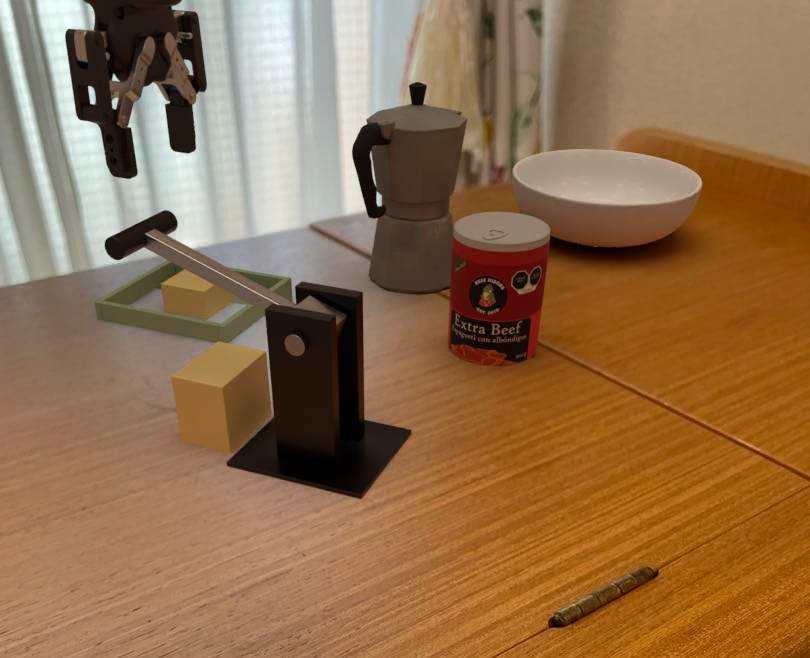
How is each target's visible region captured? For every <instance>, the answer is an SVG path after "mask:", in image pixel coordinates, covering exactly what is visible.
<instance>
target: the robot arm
mask: <svg viewBox="0 0 810 658" xmlns="http://www.w3.org/2000/svg"><path fill="white" fill-rule="evenodd" d="M82 1H83V2H85V4H89V5H90V6H91V8H92V10H93V14H94V26H93V30H90V29H81V28H68V29H66V31H65V34H64V40H65V46H66V53H67V60H68V67H69V73H70V74H69V75H70V79H71V80H70V81H71V87H72V88H71V89H72V96H73V104H74V109H75V115H76V118H77V119H78V120H79V121H83V122H88V123H93V124H95V125H97V126H98V128H99V129H100V134H101V139H102V146H103V151H104V156H105V163H106V167H107V169H108V171H109V173H110V175H111V176H112V177H115V178H119V179H124V180H131V179H134V178H136V177H137V176H138V173H139V170H138V163H137V156H136V151H135V143H134V137H133V131H132V127H131V126H130V127H129V124H130V121H131V116H132V112H133V108H134V104H135V103H136V102H137V101H139V100H140V99H141V97H142V94H143V90H144V88H146V87H149V86H150V85H151V84H155V85H156V87H157V88H158V89H159V92H160V93H161V95H162V96H163V98H164V100H165V101H166V102H167V103H165V104H164V109H165V115H166V118H165V119H166V125H167V126H166V127H167V132H168V140H169V141H168V142H169V147H170V150H172V151H173V152H174V153H181V154H189V155H190V154H191V153H193V152H196V150H197V144H196V143H197V142H196V141H197V140H196V137H197V136H196V128H195V117H194V108H193V106H194V105H195V104H196V102H197V95H198V94H199V93H205V92H206V91H207V87H208V81H207V72H206V64H205V58H204V49H203V41H202V33H201V27H200V18H199V14H198V12H196V11H191V10H182V9H173V7H174V6H177V5H179V4H181V2H183V0H82ZM186 61H189V62H190V64H191V70H192V74H190V70H189V67H188V65H187V63H186ZM113 77H115V78H116V79H117V80H113ZM89 87H91V88H92V89H93V90H94V96H95V101H94V103H91V99H90V91H89ZM114 99H117V103H116V107H115V108H113V100H114Z"/></svg>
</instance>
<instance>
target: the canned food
mask: <svg viewBox="0 0 810 658" xmlns="http://www.w3.org/2000/svg"><path fill="white" fill-rule="evenodd" d="M453 229H454V232H453V245H452V262H451V283H450V286H449V305H448V306H449V308H448V328H447V329H448V331H447V347H448V350H449V351H450V353H451V354H452V355H453V356H455V357H457V358H458V359H460V360H462V361H465V362H467V363H471V364H475V365H481V366H488V367H489V366H490V367H499V366H501V367H503V366H511V365H515V364H520V363H521V362H526V361H527V360H528V359H533V358H534V357H535V355H536V352H537V350H538V342H539V334H540V326H541V319H542V310H543V303H544V296H545V295H544V294H545V286H546V279H547V270H548V262H549V254H550V243H551V235H550V227H549V226H548V224H546V223H545V222H544V221H542V220H540V219H538V218H535V217H532V216H529V215H525V214H523V213H519V212H511V211H485V212H479V213H472V214H470V215H469V214H468V215H467V216H464V217H461V218H460V219H458V220H457V221H456V222H455V223H454V225H453Z"/></svg>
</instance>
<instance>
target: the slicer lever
mask: <svg viewBox="0 0 810 658" xmlns="http://www.w3.org/2000/svg"><path fill="white" fill-rule="evenodd" d="M178 225H179V221H178V219H177V216H176V215H175V214H174V213H173V212H172V211H170V210H167V209H163V210H161V211H159V212H157V213H155V214H153V215H151V216H148V217H147V218H145V219H143V220H141V221H139V222H137V223H135V224H133V225H131V226H129V227H127V228H125V229H122V230H121V231H119V232H117V233H115V234H113V235H111V236H109V237H107V238H106V239H105V240H104V250H105V252H106V253H107V255H108V256H109V257H110V258H111V259H113V260H116V261H121V260H123V259H125V258H127V257H128V256H131V255H133V254H134V253H136V252H138V251H140V250H142V249H143V248H144V249H146V250H148V251H150V252H152V253H154V254H155V255H157V256H160V257H161V258H162V259H165V260H166V261H167V260H169V261H170V262H172V263H174V264H176V265H178V266H180V267H182V268H184V269H185V270H187V271H189V272H191V273H193V274H195V275H197V276H198V277H200V278H202V279H204V280H206V281H208V282H210V283H212V284H213V285H215V286H217V287H219V288H221V289H223V290H225V291H227V292H228V293H230V294H232V295H234V296H236V297H238V298H240V299H241V300H243V301H245V302H247V303H249V304H251V305H253V306H255V307H256V308H258V309H260V310H262V311H264V312H265V309H266V308H267V307H268V306H270V305H271V304H277V305H283V306H288V307H294V308H299V309H305V310H310V311H316V312H321V313H327V314H332V315H336V331H337V345H338V342H339V339H340V336H341V333H342V330H343V326H344V323H345V320H346V317H347V315H346V314H344V313H342V312H340V311H338V310H336V309H334V308H333V307H331V306H329V305H327V304H325V303H323V302H321V301H319V300H317V299H316V298H314V297H312V296H308V297H307V298H305V299H304V300H303V301H302V302H300V303H299V304H298V305H297V304H296V302H294V301H293V302H291V301H289V300H287V299H286V298H284V297H282V296H280V295H278V294H276V293H274V292H272V291H271V290H269V289H267V288H265V287H263V286H261V285H259V284H257V283H255V282H254V281H252V280H250V279H248V278H246V277H244V276H242V275H240V274H239V273H237V272H235V271H233V270H231V269H229V268H227V267H228V266H226V265H224V264H222V263H220V262H218V261H216V260H214V259H212V258H210V257H209V256H206V255H204V254H203V253H201V252H199V251H197V250H195V249H193V248H191V247H190V246H188V245H186V244H184V243H182V242H181V241H179V240H176V239H174V238H173V237H171V236H169V235H170V234H172V233H174V232H175V231H177V229H178Z"/></svg>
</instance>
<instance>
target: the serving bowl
mask: <svg viewBox="0 0 810 658" xmlns="http://www.w3.org/2000/svg"><path fill="white" fill-rule="evenodd" d="M511 179H512V190H513V195H514V198H515V199H514V200H515V202H516V204H517V206H518V208H519V210H520V212H521V214H525V215H529V216H532V217H535V218H538V219H540V220H542V221H544V222H545V223H546V224H548V226H549V227H550V237H553V238H555V239H558V240H561V241H564V242H569V243H572V244H575V243H577V244H576V245H579V244H582V245H581V246H583V245H588V246H597V247H616V248H626V247H633V246H634V247H635V246H636V247H637V246H641V245H646V244H650V243H652V242H656V241H659V240H661V239H663V238H665V237H667V236H669V235H670V234H672V233H673V232H675V231H676V230H677V229H679V228H680V227H681V226H682V225H683V224H684V223H685V222H686V221H687V220H688V218H689V217H690V216H691V214H692V212H693V211H694V209H695V208H696V205H697V203H698V200H699V198H700V195H701V192H702V188H703V180H702V179H701V177H700V175H698V173H697V172H695V171H694V170H692V169H691V168H690V167H687V166H685V165H683V164H680V163H678V162H675V161H672V160H669V159H666V158H662V157H658V156H653V155H649V154H644V153H637V152H632V151H623V150H612V149H596V148H595V149H594V148H593V149H592V148H578V149H577V148H574V149H573V148H571V149H559V150H550V151H545V152H539V153H536V154H532V155H529V156H527V157H524V158H522V159H520V160H519V161H517V162H516V163H515V164H514V166H513V168H512V170H511ZM588 246H587V247H588ZM597 247H596V248H597Z"/></svg>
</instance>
